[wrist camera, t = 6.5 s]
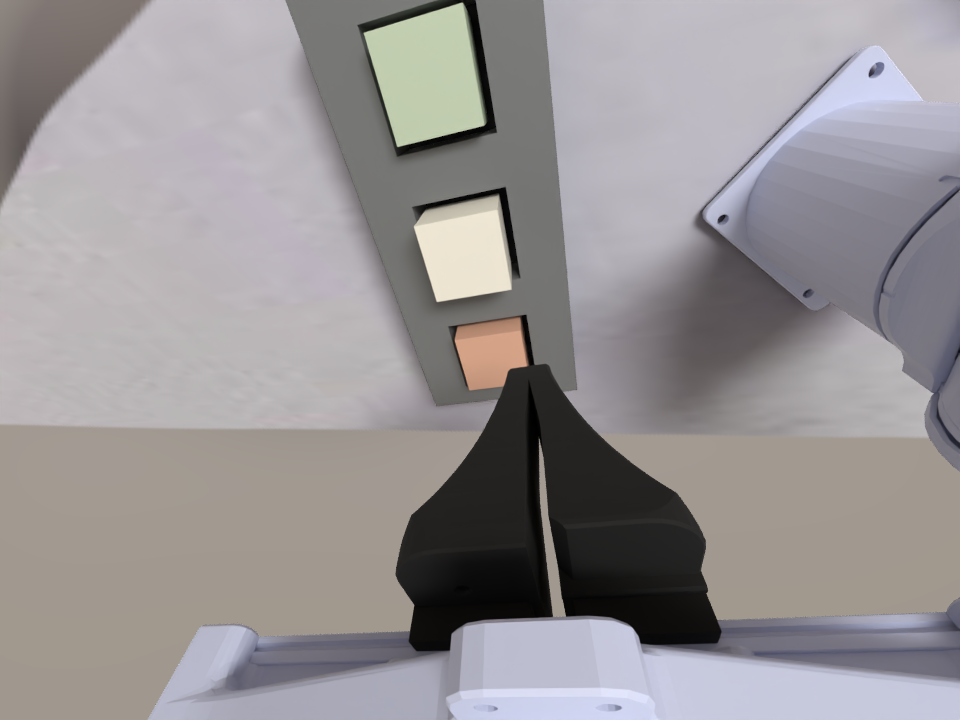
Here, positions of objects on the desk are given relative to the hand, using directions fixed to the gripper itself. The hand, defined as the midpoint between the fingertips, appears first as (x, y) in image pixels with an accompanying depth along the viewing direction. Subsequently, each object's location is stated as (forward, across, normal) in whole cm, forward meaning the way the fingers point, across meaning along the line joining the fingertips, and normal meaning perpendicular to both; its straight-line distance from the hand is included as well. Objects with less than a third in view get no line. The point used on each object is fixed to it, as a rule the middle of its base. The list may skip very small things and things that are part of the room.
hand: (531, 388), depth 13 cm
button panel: (+10, +2, -3) cm, 11 cm away
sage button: (+10, +2, -9) cm, 14 cm away
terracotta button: (+10, +2, +4) cm, 11 cm away
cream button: (+9, +2, -3) cm, 10 cm away
